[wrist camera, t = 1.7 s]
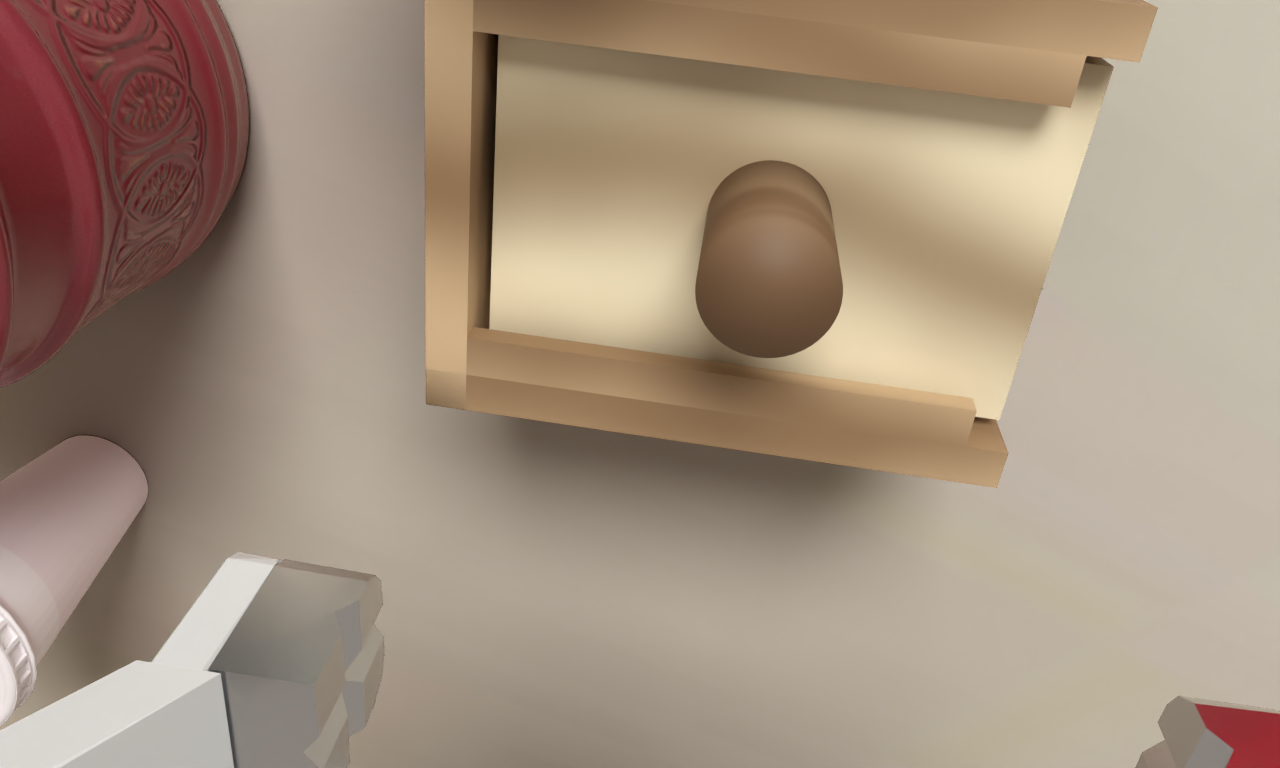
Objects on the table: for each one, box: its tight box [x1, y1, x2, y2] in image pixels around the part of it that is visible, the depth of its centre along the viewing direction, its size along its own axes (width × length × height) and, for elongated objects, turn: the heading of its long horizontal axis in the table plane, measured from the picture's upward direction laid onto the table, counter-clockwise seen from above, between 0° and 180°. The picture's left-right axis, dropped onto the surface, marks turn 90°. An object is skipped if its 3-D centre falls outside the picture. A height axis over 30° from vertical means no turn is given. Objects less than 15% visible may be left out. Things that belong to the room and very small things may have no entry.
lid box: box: [424, 0, 1158, 488], centre depth 26 cm, size 11×14×8 cm
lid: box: [489, 35, 1114, 420], centre depth 22 cm, size 8×13×5 cm
